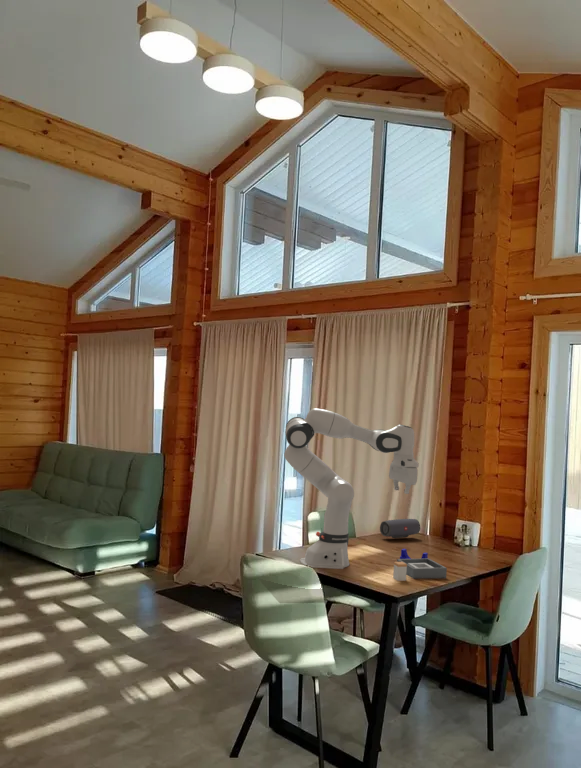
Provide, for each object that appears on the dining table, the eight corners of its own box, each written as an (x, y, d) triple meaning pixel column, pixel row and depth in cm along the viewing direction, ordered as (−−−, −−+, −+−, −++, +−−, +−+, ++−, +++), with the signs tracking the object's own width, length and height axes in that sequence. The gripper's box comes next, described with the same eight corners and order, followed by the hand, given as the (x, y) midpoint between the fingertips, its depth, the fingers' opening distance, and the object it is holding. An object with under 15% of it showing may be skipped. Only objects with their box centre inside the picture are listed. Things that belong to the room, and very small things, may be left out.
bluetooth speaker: (389, 540, 355) (390, 522, 355) (378, 536, 363) (379, 518, 363) (420, 537, 367) (421, 519, 367) (409, 533, 375) (410, 516, 375)
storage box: (413, 580, 280) (413, 568, 280) (396, 570, 295) (397, 559, 295) (446, 579, 285) (446, 568, 285) (428, 569, 300) (428, 558, 300)
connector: (397, 583, 275) (398, 564, 275) (393, 580, 278) (394, 561, 278) (405, 583, 276) (406, 564, 276) (401, 580, 280) (402, 561, 280)
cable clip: (399, 563, 309) (400, 550, 309) (402, 561, 313) (403, 548, 313) (424, 567, 303) (424, 554, 303) (427, 565, 307) (427, 552, 307)
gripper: (386, 458, 302) (384, 488, 302) (407, 463, 282) (405, 495, 282) (398, 458, 304) (397, 488, 304) (420, 464, 284) (418, 495, 284)
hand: (401, 491), depth 293 cm, fingers open, 8 cm apart
